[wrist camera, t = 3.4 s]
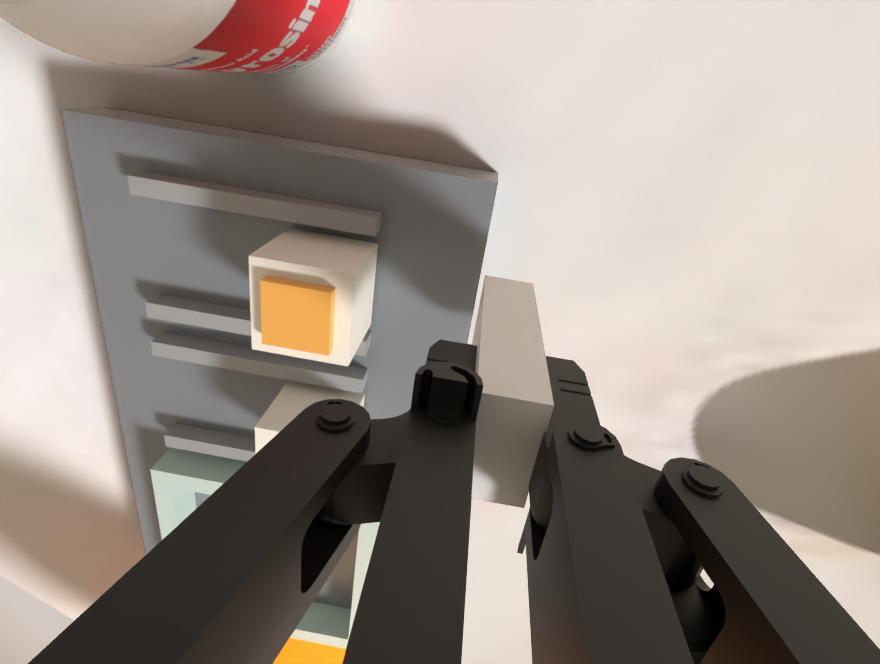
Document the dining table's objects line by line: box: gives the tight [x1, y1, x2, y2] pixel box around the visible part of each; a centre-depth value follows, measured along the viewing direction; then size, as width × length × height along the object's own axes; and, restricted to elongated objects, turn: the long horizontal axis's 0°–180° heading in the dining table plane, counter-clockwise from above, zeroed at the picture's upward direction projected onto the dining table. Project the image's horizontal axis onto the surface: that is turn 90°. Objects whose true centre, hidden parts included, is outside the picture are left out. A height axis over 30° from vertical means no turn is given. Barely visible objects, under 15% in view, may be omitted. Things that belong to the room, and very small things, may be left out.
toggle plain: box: [255, 380, 365, 453], centre depth 18 cm, size 3×3×3 cm
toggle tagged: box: [249, 228, 378, 366], centre depth 15 cm, size 3×3×3 cm
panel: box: [61, 108, 498, 649], centre depth 21 cm, size 24×14×4 cm, turn 172°
